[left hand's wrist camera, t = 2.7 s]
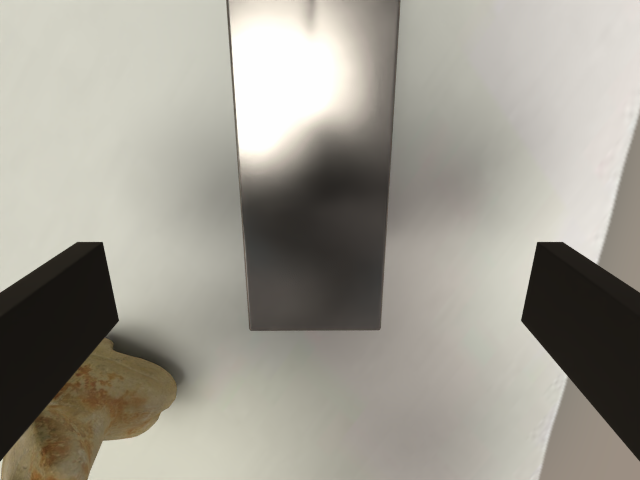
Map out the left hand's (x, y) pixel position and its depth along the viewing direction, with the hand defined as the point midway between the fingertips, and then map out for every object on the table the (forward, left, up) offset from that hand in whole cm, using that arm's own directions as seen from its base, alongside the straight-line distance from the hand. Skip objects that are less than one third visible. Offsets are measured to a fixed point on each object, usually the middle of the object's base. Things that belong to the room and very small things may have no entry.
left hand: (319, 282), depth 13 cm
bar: (+9, 0, -12) cm, 15 cm away
